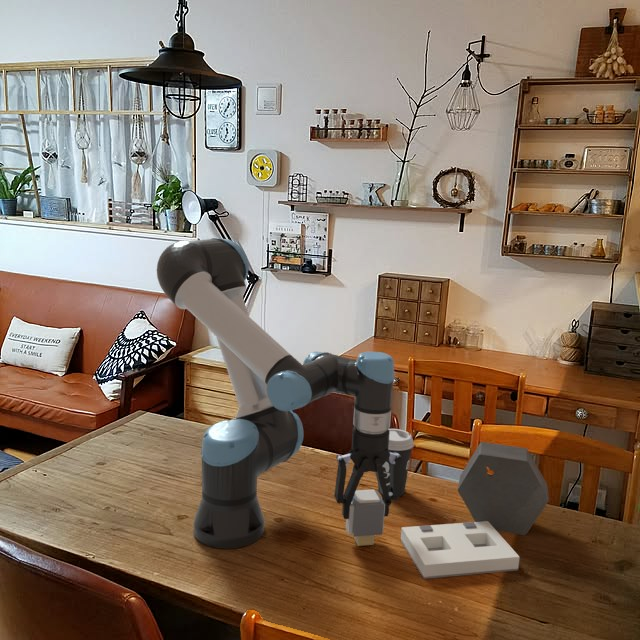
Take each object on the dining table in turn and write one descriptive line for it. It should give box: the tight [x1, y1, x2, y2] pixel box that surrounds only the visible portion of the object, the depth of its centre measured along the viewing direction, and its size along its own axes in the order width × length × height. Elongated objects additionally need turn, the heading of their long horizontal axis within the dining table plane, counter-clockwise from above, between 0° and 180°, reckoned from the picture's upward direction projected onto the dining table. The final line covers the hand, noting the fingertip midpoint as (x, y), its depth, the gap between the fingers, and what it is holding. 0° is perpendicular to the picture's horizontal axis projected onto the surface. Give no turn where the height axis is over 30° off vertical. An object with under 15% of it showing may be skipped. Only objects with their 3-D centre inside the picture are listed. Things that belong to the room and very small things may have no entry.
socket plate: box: [400, 521, 520, 580], centre depth 133 cm, size 20×14×3 cm
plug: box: [352, 489, 385, 547], centre depth 136 cm, size 6×6×11 cm
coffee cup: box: [377, 428, 415, 498], centre depth 159 cm, size 10×10×15 cm
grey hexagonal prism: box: [457, 441, 550, 536], centre depth 145 cm, size 17×8×21 cm
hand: (364, 530), depth 136 cm, fingers closed on plug, 6 cm apart
